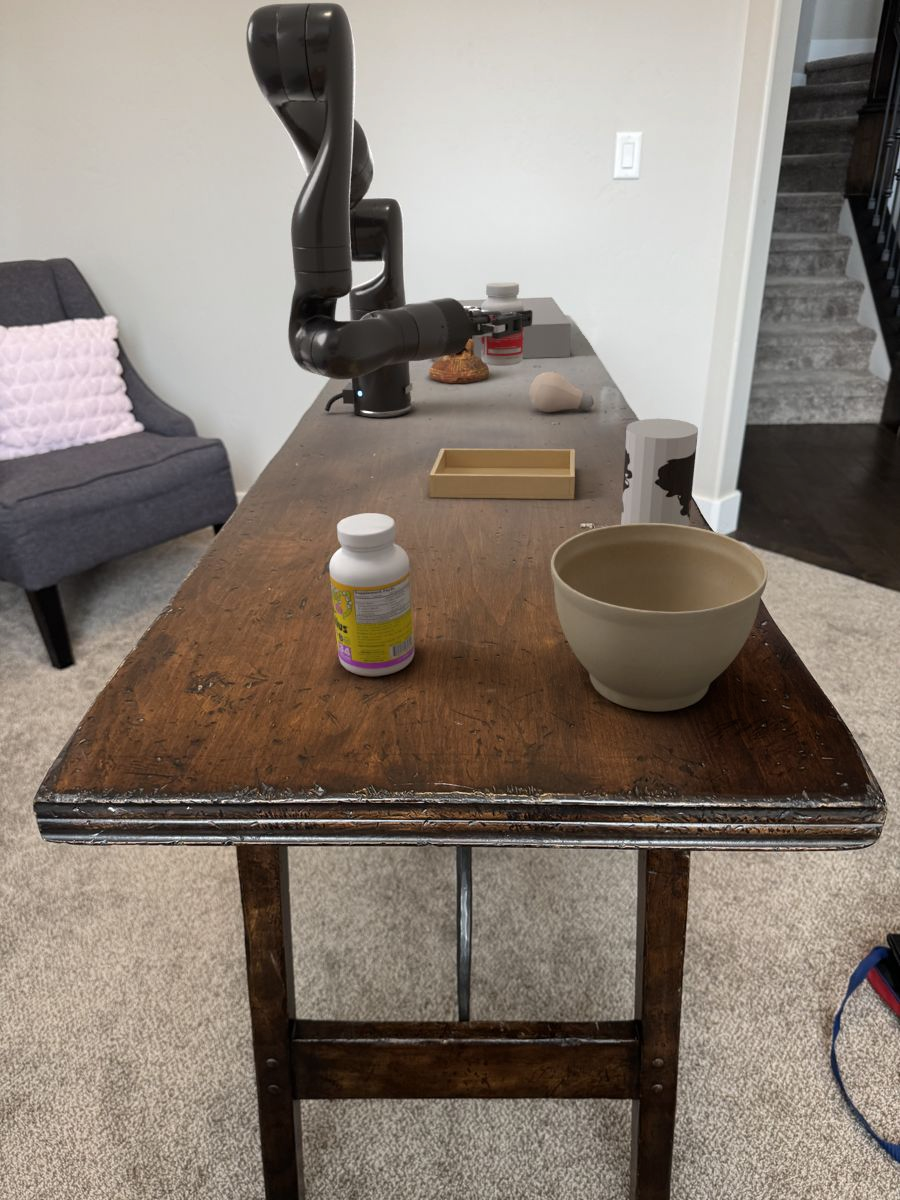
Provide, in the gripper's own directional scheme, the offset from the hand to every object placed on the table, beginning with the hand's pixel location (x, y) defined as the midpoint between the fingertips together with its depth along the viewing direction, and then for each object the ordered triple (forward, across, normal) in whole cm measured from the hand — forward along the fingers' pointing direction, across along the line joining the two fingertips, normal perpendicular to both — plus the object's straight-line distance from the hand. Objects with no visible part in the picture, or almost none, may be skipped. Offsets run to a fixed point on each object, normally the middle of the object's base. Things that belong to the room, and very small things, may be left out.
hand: (513, 314), depth 131 cm
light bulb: (+14, +2, +18) cm, 23 cm away
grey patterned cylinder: (-27, -46, +18) cm, 56 cm away
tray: (-18, -16, +18) cm, 30 cm away
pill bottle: (-2, 0, +7) cm, 7 cm away
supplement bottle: (-58, -40, +18) cm, 73 cm away
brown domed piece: (+20, +34, +18) cm, 43 cm away
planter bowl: (-45, -59, +18) cm, 76 cm away
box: (+48, +52, +17) cm, 73 cm away
